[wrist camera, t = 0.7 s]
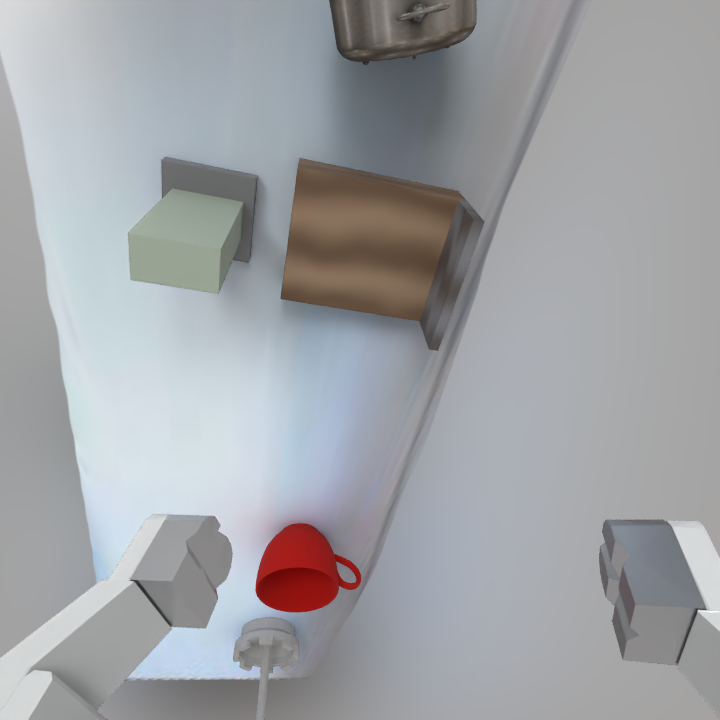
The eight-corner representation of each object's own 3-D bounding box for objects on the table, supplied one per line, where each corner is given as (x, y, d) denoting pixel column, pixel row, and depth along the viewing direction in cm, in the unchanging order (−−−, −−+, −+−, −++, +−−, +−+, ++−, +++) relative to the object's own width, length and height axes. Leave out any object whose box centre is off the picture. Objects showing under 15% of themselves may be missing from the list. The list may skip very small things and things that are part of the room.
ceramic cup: (349, 562, 88) (352, 617, 79) (257, 553, 85) (250, 609, 76) (367, 518, 81) (372, 572, 73) (267, 507, 78) (261, 562, 69)
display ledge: (299, 158, 48) (294, 183, 40) (458, 191, 51) (484, 221, 42) (283, 283, 55) (275, 326, 47) (422, 306, 58) (437, 350, 50)
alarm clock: (453, -32, 40) (517, -66, 27) (456, 44, 43) (515, 47, 30) (326, -6, 41) (327, -27, 27) (338, 67, 44) (344, 80, 30)
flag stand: (286, 609, 96) (272, 809, 71) (308, 638, 103) (303, 829, 78) (226, 622, 97) (192, 823, 72) (252, 650, 104) (230, 841, 80)
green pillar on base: (165, 156, 47) (111, 198, 35) (257, 175, 49) (235, 220, 37) (166, 242, 52) (119, 304, 40) (250, 257, 53) (228, 320, 42)
